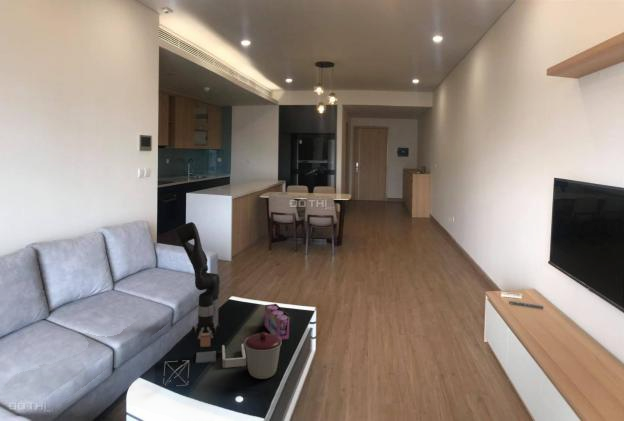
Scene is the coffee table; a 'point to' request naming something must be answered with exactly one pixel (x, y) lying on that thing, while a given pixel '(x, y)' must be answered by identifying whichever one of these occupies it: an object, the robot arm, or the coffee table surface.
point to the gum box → (277, 321)
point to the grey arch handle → (234, 359)
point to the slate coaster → (206, 357)
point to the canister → (262, 354)
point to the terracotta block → (205, 340)
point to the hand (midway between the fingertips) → (205, 344)
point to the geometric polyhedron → (176, 373)
